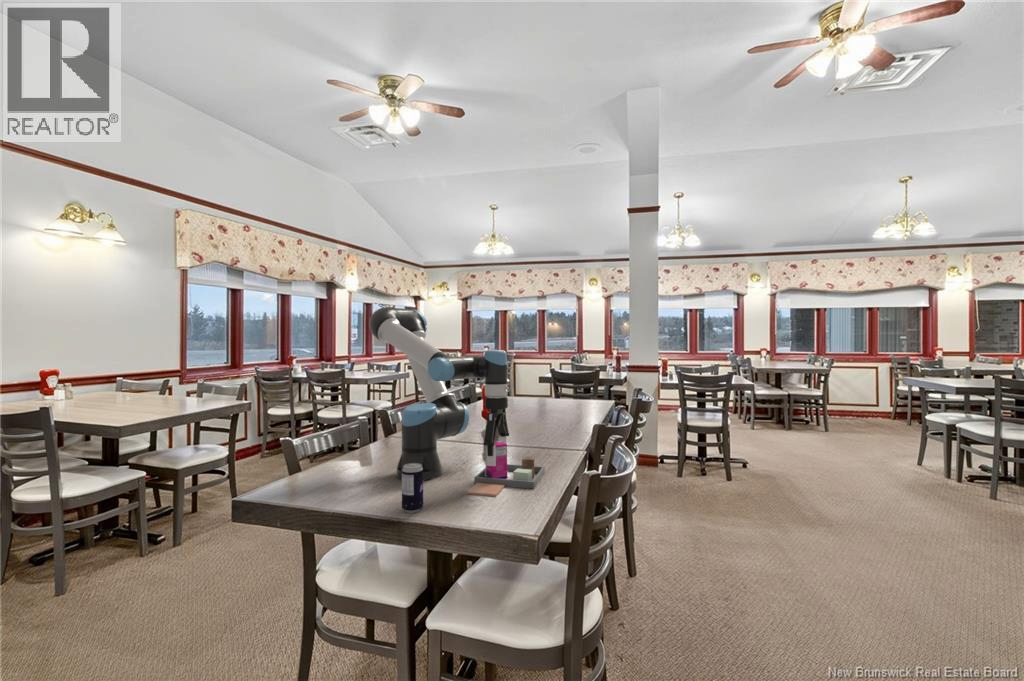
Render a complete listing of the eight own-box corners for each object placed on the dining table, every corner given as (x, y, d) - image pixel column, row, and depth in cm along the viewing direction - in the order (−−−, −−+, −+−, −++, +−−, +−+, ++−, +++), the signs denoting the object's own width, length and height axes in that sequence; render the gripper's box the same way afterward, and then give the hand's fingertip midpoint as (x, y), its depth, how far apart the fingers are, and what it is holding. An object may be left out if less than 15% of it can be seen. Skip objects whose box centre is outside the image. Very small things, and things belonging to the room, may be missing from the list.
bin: (474, 483, 148) (474, 477, 148) (490, 468, 165) (490, 463, 165) (534, 488, 144) (534, 482, 144) (544, 472, 160) (544, 466, 160)
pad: (467, 493, 139) (467, 491, 139) (477, 484, 147) (477, 482, 147) (496, 496, 136) (496, 494, 136) (504, 486, 145) (504, 485, 145)
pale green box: (513, 484, 148) (513, 471, 148) (517, 480, 152) (517, 468, 152) (528, 485, 147) (528, 473, 147) (532, 482, 150) (532, 469, 150)
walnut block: (521, 477, 155) (521, 459, 155) (522, 473, 159) (522, 456, 159) (534, 477, 155) (534, 459, 155) (534, 474, 159) (534, 456, 159)
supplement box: (484, 475, 157) (484, 441, 157) (501, 473, 160) (500, 439, 160) (491, 480, 152) (491, 445, 152) (508, 478, 154) (508, 443, 154)
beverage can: (423, 512, 124) (423, 467, 124) (401, 514, 123) (401, 468, 123) (423, 505, 129) (423, 462, 129) (402, 506, 128) (402, 463, 128)
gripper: (496, 401, 142) (497, 471, 142) (516, 392, 167) (517, 452, 167) (473, 401, 144) (474, 469, 144) (496, 392, 169) (497, 451, 168)
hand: (497, 460), depth 155 cm, fingers open, 13 cm apart
